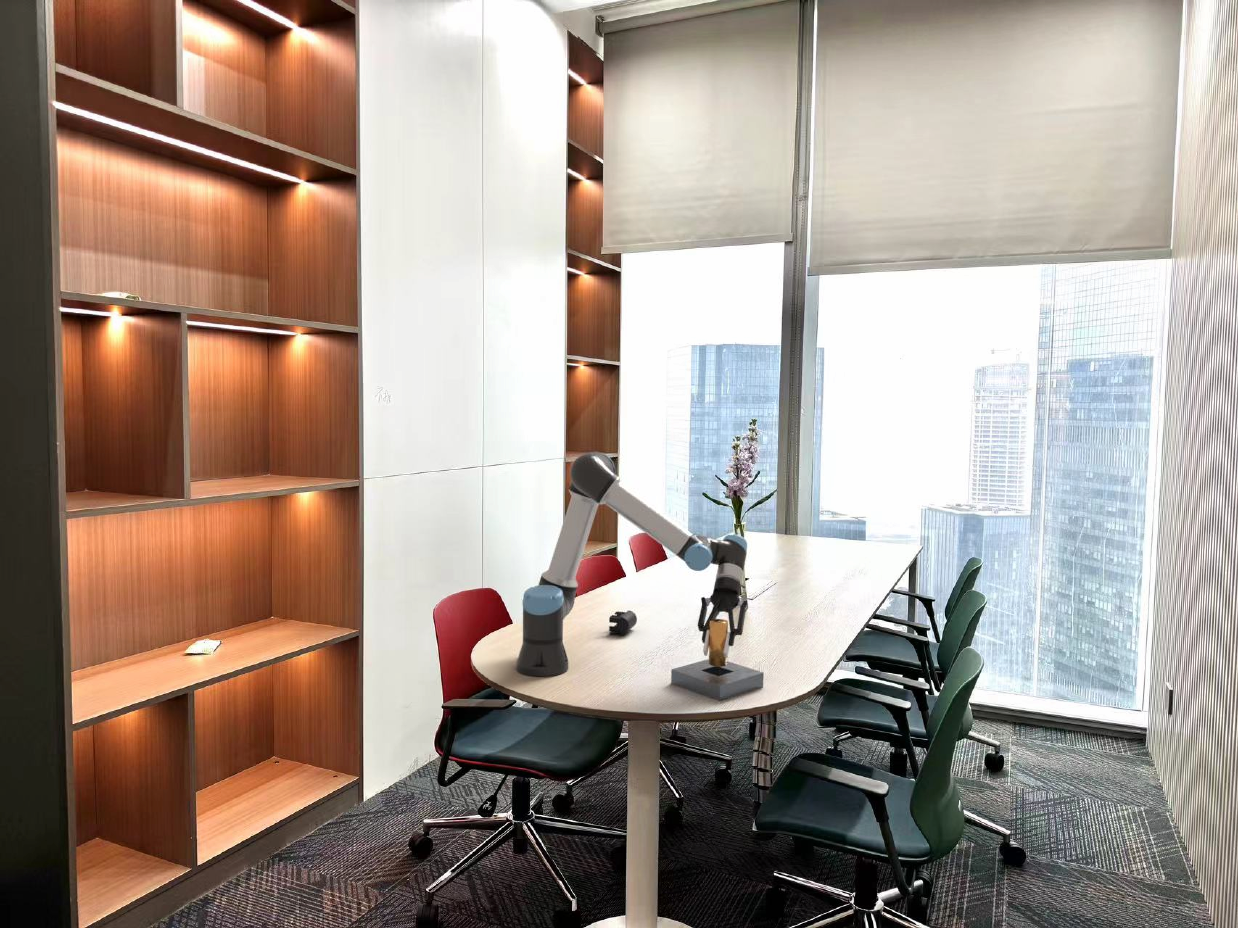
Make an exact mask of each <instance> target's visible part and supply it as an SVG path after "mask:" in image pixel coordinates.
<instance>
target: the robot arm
mask: <svg viewBox="0 0 1238 928" xmlns="http://www.w3.org/2000/svg"><path fill="white" fill-rule="evenodd" d="M569 477H570V484H569V487H568V492H569V494H570V496H571V497H570V500H569V503H568V507H567V510H566V514H565V516H564V519H563V523H562V525H561V529H560V532H559V535H558V538H557V542H556V545H555V547H554V551H553V554H552V557H551V561H550V563H549V566H548V570H546V571H544V572H542V574H541V576H540V579H539V582H538V585H535V586H531V587H529V588H528V589H526V590H525V591H524V593H523V595H522V597H523V598H522V643H521V644H522V645H521V647H520V650H519V653H518V658H517V660H516V666H515V667H516V668H515V669H516V671H517V672H518V673H520V674H522V675H526V676H531V677H551V676H556V675H562V674H563V673H566V672H567V671H568V670H569V659H568V656H567V651H566V649H565V646H564V643H563V640H564V639H563V638H564V637H563V635H564V632H563V631H564V619H565V618H566V617H567V616H568V615H569V614H570V613H571V611H572V610H573V607H574V605H575V599H576V598H575V596H576V593H577V591H578V590H577V589H578V587H579V584H578V582H577V581H578V580H577V579H576V576H577V574H578V570H579V567H580V563H581V560H582V557H583V555H584V551H585V548H586V545H587V542H588V539H589V535H590V533H591V530H592V526H593V523H594V521H595V520H594V519H595V518H596V514H597V511H598V508H599V505H606V506H607V507H609V508H610V509H611V510H612V511H614V512H616V513H617V514H618V515H620V516H621V517H623V518H624V519H626V520H627V521H629V522H630V523H631V524H633V525H634V526H636V527H637V529H639V530H640V531H642V532H644V533H645V534H647V535H648V536H649V537H651V538H652V539H653V540H654V541H656V542H657V543H658V544H660V545H661V546H663V547H664V548H666V549H667V550H669V551H670V552H672V553H673V554H674V555H675V556H677V557H678V558H679V559H680V560H681V561H684V563H685V565H686V566H687V567H688V568H689V569H690V570H693V571H694V572H702V571H704V570H706V569H708V567H710V565H716V566H718V567H717V569H716V575H715V582H714V585H713V591H712V594H711V595H710V597H704V596H703V597H701V598H700V600H701V607H700V611H699V617H698V622H697V628H698V631H699V632H702V635H701V641H702V644H703V649H702V652H703V656H706V657H707V656H708V655H709V628H710V620H712V619H717V617H718V616H719V615H720V613H723V612H724V613H727V615H728V626H729V631H728V632H727V636H726V642H725V647H724V656H725V658H727V659H728V658H729V652H730V647H733V646H734V644H735V639H736V636H742V635H743V630H744V625H745V618H746V617H745V616H746V612H747V611H748V609H749V603H748V601H747V600H741V599H740V594H741V589H742V588H741V587H742V581H743V576H744V571H745V564H746V559H747V550H748V542H747V539H745V538H744V537H743V536H741V535H739V534H727V535H726V536H724V537H723V539H716V538H713V537H708V536H705V535H701V534H697V533H692V532H690V531H689V530H687V529H685V528H684V527H682V526H681V525H680V524H678V522H675V520H673V519H671V518H670V517H669V516H667V515H666V514H665V513H663V512H662V511H661V510H659V509H658V508H656V506H654V505H652V504H651V503H650V502H649V501H647V500H645V499H644V498H643V497H641V496H640V495H638V494H637V493H636V492H635V491H633V490H632V489H630V488H629V487H628V486H626V485H625V484H624V483H622V482H621V478H620V476H618V474H616V468H615V464H614V461H613V460H612V459H611V458H610V457H609V456H608V455H607V454H606V453H603V452H599V451H590V452H587V453H584V454H581V455H580V456H577V457H576V458H575V459H574V461H573V462H572V464H571V465H570V470H569ZM710 604H712V605H713V606H712V609H711V612H710V614H709V616H708V617H707V612H708V607H709V606H710ZM737 607H739V614H738V621H737V626H735V620H734V611H733V610H735V609H736V608H737ZM706 617H707V619H706ZM735 627H736V628H735Z"/></svg>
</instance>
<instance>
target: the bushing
mask: <svg viewBox="0 0 1238 928" xmlns="http://www.w3.org/2000/svg"><path fill="white" fill-rule="evenodd" d="M728 626H729V620H727V619H724V618H716V619H712V620H710V628H709V649H708V659H709V664H710V665H712V666H717V667H722V666H726V665H727V661H728V658H725V656H724V647H725V642H726V636H727V632H729V630H728V629H729V627H728Z"/></svg>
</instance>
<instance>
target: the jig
mask: <svg viewBox="0 0 1238 928" xmlns="http://www.w3.org/2000/svg"><path fill="white" fill-rule="evenodd" d="M670 672H671V673H670V684H672V685H674V686H677V687H680V688H683V689H686V690H688V691H691V692H695V693H697V694H699V695H701V696H705V697H708V698H710V699H713V700H717V701H719V702H721V701H724V700H727V699H729V698H730V699H731V698H732V697H733V698H734V697H736V696H738V695H742V694H745V693H748V692H752V691H754V690H757V689H760V688H763V687H764V672H763V671H760V670H756V669H754V668H750V667H747V666H744V665H741V664H737V663H734V662H731V661H728V660H727V665H726V666H722V667H717V666H712V665H710V664H709V658H707V659H704V660H703V659H702V660H701V661H696V662H694V663H690V664H686V665H682V666H678V667H675V668H671V671H670Z"/></svg>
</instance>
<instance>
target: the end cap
mask: <svg viewBox="0 0 1238 928" xmlns="http://www.w3.org/2000/svg"><path fill="white" fill-rule="evenodd" d="M608 622H609V623H611V624H613V623H614V624H615V625H609V626H608V630H609V636H617V637H623V636H624V635H626V634H627V633H628V632H629V631H630V630H631V629H632V628H634V627H635V626H636V624H637V622H638V617H637V615H636V613H635V612H634V611H632V610H627V611H615V612H614V614H612V615H610V616H609V621H608Z"/></svg>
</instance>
